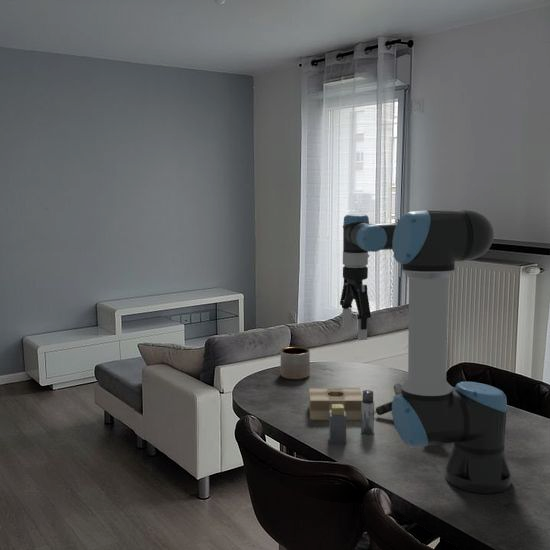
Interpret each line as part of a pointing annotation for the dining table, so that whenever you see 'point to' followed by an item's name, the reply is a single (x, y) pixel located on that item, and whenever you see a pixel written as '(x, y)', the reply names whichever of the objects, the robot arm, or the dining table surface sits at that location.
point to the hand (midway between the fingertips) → (354, 334)
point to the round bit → (367, 413)
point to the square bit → (337, 424)
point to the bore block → (334, 402)
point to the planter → (295, 363)
